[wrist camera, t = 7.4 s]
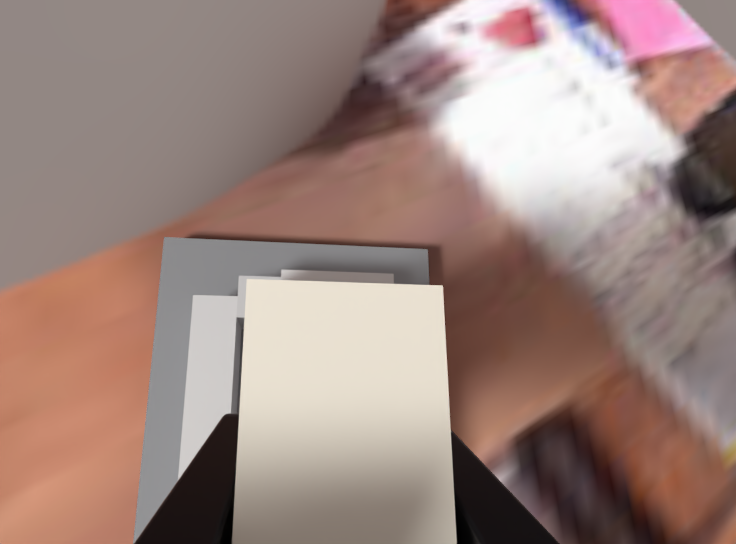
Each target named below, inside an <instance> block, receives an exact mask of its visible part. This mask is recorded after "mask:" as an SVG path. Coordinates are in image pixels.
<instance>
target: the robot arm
mask: <svg viewBox="0 0 736 544" xmlns="http://www.w3.org/2000/svg"><path fill="white" fill-rule="evenodd" d="M238 426H239V413H228V414H225V415H224V416H223V417H222V418H221V420H220V421H219V422H218V424H217V425H216V427H215V428H214V430H213V431H212V432H211V434H210V435H209V437H208V438H207V440H206V441H205V442H204V444H203V445H202V447H201V448H200V450H199V451H198V452H197V454H196V455H195V457H194V458H193V460H192V461H191V463H190V464H189V465H188V467H187V468H186V470H185V471H184V473H183V474H182V475H181V477H180V478H179V480H178V481H177V483H176V484H175V485H174V487H173V488H172V490H171V491H170V493H169V494H168V495H167V497H166V498H165V500H164V501H163V503H162V504H161V506H160V507H159V508H158V510H157V511H156V513H155V514H154V516H153V517H152V518H151V520H150V521H149V523H148V524H147V526H146V527H145V528H144V530H143V531H142V533H141V534H140V536H139V537H138V538H137V540H136V541H135V543H134V544H232V533H233V516H234V498H235V480H236V462H237V444H238ZM451 445H452V464H453V482H454V501H455V519H456V538H457V544H560V543H559V542H558V541H557V540H556V539H555V538H554V537H553V536H552V535H551V534H550V533H549V532H548V531H547V530H546V529H545V528H544V527H543V526H542V525H541V524H540V522H539V521H538V520H537V519H536V518H535V517H534V516H533V515H532V514H531V513H530V512H529V511H528V510H527V509H526V508H525V507H524V506H523V505H522V504H521V503H520V501H519V500H518V499H517V498H516V497H515V496H514V495H513V494H512V493H511V492H510V491H509V490H508V489H507V488H506V487H505V486H504V485H503V484H502V483H501V482H500V481H499V479H498V478H497V477H496V476H495V475H494V474H493V473H492V472H491V471H490V470H489V469H488V468H487V467H486V466H485V465H484V464H483V463H482V462H481V461H480V460H479V459H478V457H477V456H476V455H475V454H474V453H473V452H472V451H471V450H470V449H469V448H468V447H467V446H466V445H465V444H464V443H463V442H462V441H461V440H460V439H459V438H458V436H457V435H456V434H455V433H454V432H453V431H452V430H451Z"/></svg>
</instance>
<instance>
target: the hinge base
mask: <svg viewBox="0 0 736 544" xmlns="http://www.w3.org/2000/svg"><path fill="white" fill-rule="evenodd" d="M281 270H307V271H334V272H361V273H387V274H394V284H413V285H429V264H428V249H412V248H390V247H368V246H346V245H324V244H302V243H281V242H259V241H237V240H215V239H193V238H171V237H164V245H163V255H162V264H161V274H160V284H159V294H158V304H157V314H156V324H155V333H154V343H153V353H152V363H151V373H150V383H149V393H148V403H147V412H146V422H145V432H144V442H143V452H142V462H141V472H140V481H139V491H138V501H137V511H136V521H135V531H134V541H133V544H134V543H135V541H136V540H137V538H138V537H139V536H140V534H141V533H142V531H143V530H144V528H145V527H146V526H147V524H148V523H149V521H150V520H151V518H152V517H153V516H154V514H155V513H156V511H157V510H158V508H159V507H160V506H161V504H162V503H163V501H164V500H165V498H166V497H167V495H168V494H169V493H170V491H171V490H172V488H173V487H174V485H175V484H176V483H177V481H178V480H179V478H180V477H181V475H182V474H183V473H184V471H185V470H186V468H187V467H188V465H189V464H190V463H191V461H192V460H193V458H194V457H195V455H196V454H197V452H198V451H199V450H200V448H201V447H202V445H203V444H204V442H205V441H206V440H207V438H208V437H209V435H210V434H211V432H212V431H213V430H214V428H215V427H216V425H217V424H218V422H219V421H220V420H221V418H222V417H223V416H224V415H225V414H228V413H239V408H240V390H241V372H242V355H243V337H244V319H245V301H246V283H247V279H264V280H281Z"/></svg>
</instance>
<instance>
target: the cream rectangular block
mask: <svg viewBox="0 0 736 544" xmlns="http://www.w3.org/2000/svg"><path fill="white" fill-rule="evenodd" d="M232 544H457V538H456V519H455V501H454V482H453V464H452V445H451V427H450V408H449V390H448V371H447V353H446V334H445V316H444V297H443V286H442V285H413V284H394V274H387V273H361V272H334V271H307V270H281V280H264V279H247V283H246V301H245V319H244V337H243V355H242V372H241V390H240V408H239V426H238V444H237V462H236V480H235V498H234V516H233V533H232Z"/></svg>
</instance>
